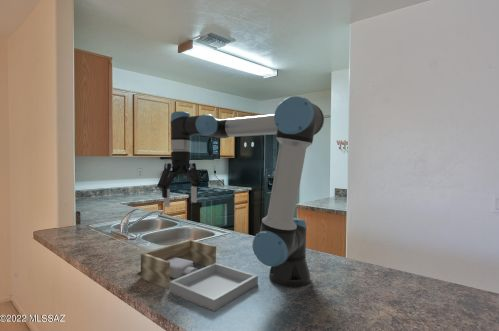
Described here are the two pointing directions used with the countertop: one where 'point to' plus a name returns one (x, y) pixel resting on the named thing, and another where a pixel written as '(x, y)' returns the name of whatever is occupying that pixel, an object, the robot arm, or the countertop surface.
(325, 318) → the countertop surface
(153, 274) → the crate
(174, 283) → the tray
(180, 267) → the charger
